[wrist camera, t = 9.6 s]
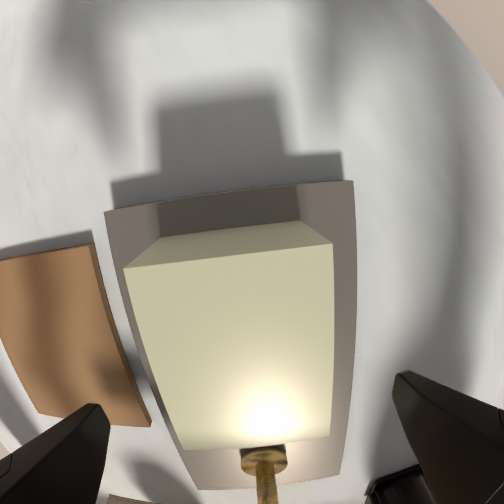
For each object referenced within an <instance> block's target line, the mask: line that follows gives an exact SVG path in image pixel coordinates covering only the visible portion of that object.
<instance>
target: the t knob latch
mask: <svg viewBox="0 0 504 504" xmlns="http://www.w3.org/2000/svg"><path fill="white" fill-rule="evenodd" d="M287 465H288V461H287V456H286V453H285V452H284V451H283V450H281V449H279V448H276V447H268V446H266V447H257V448H253V449H251V450H248V451H247V452H245V453H244V454H243V455H242V457H241V469H242V470H243V471H244V472H245V473H246V474H249V475H252V476H256V487H257V501H258V504H279V501H278V494H277V486H276V478H275V475H276V474H278V473H280V472H282V471H283V470H284V469H285V468H286V467H287ZM107 504H159V503H152V502H146V501H140V500H134V499H129V498H124V497H120V496H115V495H111V494H109V497H108V500H107Z"/></svg>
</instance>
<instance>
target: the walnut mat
mask: <svg viewBox="0 0 504 504" xmlns="http://www.w3.org/2000/svg"><path fill="white" fill-rule="evenodd" d="M0 338H1V341H2V343H3V345H4V348H5V350H6V352H7V354H8V357H9V359H10V361H11V363H12V365H13V367H14V369H15V371H16V373H17V375H18V377H19V379H20V381H21V383H22V385H23V387H24V389H25V391H26V392H27V394H28V396H29V398H30V400H31V401H32V403H33V405H34V406H35V408H36V410H37V411H38V413H40V414H44V415H49V416H54V417H60V418H66V417H68V416H69V415H70V414H72V413H73V412H75V411H76V410H78V409H79V408H81V407H82V406H84V405H85V404H87V403H97V404H100V405H101V406H102V408H103V410H104V412H105V414H106V416H107V418H108V420H109V422H110V425H121V426H134V427H150V426H151V422H152V420H151V418H150V416H149V414H148V412H147V409H146V407H145V405H144V402H143V400H142V398H141V395H140V393H139V390H138V388H137V385H136V383H135V380H134V378H133V375H132V373H131V370H130V367H129V365H128V362H127V359H126V356H125V354H124V351H123V348H122V345H121V342H120V339H119V336H118V333H117V330H116V326H115V323H114V320H113V317H112V313H111V310H110V306H109V303H108V299H107V296H106V292H105V288H104V284H103V280H102V276H101V272H100V268H99V264H98V259H97V255H96V250H95V246H94V243H93V244H87V245H81V246H75V247H69V248H63V249H58V250H52V251H46V252H40V253H35V254H29V255H24V256H19V257H13V258H8V259H3V260H0Z"/></svg>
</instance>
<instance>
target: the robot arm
mask: <svg viewBox="0 0 504 504" xmlns="http://www.w3.org/2000/svg"><path fill="white" fill-rule="evenodd" d="M392 398H393V402H394V404H395V407H396V410H397V412H398V415H399V418H400V421H401V423H402V426H403V429H404V432H405V434H406V437H407V439H408V441H409V444H410V446H411V448H412V450H413V452H414V454H415V456H416V458H417V460H418V462H419V464H420V465H417V466H415V467H413V468H410V469H407V470H405V471H402V472H399V473H397V474H394V475H391V476H388V477H385V478H382V479H379V480H377V481H376V482H374V484H373V487H372V489H371V492H370V494H369V496H368V498H367V500H366V503H365V504H504V410H502V409H500V408H499V409H498V408H497V407H494V406H492V405H489V404H487V403H485V402H482V401H480V400H477V399H475V398H472V397H470V396H468V395H465V394H463V393H460V392H458V391H456V390H453V389H451V388H449V387H446V386H444V385H442V384H440V383H437V382H435V381H433V380H430V379H428V378H426V377H424V376H421V375H419V374H417V373H415V372H412V371H410V370H406V371H403V372H400V373H398V374H397V375H396V377H395V381H394V386H393V391H392ZM109 434H110V422H109V420H108V418H107V416H106V414H105V412H104V410H103V408H102V406H101V405H100V404H97V403H87V404H85V405H84V406H82V407H81V408H79V409H78V410H76V411H75V412H73V413H72V414H70V415H69V416H68V417H66V418H65V419H63V420H62V421H60V422H59V423H57V424H56V425H54V426H52V427H51V428H49V429H48V430H46V431H45V432H43V433H42V434H40V435H39V436H37V437H36V438H34V439H33V440H31V441H30V442H28V443H26V444H25V445H23V446H22V447H20V448H19V449H17V450H16V451H14V452H13V453H11V454H9V455H8V456H6V457H5V458H3V459H1V460H0V504H96V500H97V496H98V492H99V487H100V483H101V479H102V475H103V471H104V467H105V461H106V454H107V447H108V441H109Z"/></svg>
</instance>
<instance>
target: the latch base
mask: <svg viewBox="0 0 504 504" xmlns="http://www.w3.org/2000/svg"><path fill="white" fill-rule="evenodd" d="M104 216H105V222H106V227H107V233H108V238H109V243H110V248H111V253H112V258H113V262H114V267H115V271H116V275H117V280H118V284H119V288H120V292H121V296H122V299H123V303H124V307H125V310H126V314H127V317H128V321H129V324H130V328H131V331H132V334H133V337H134V341H135V344H136V347H137V350H138V353H139V356H140V359H141V362H142V365H143V368H144V370H145V373H146V376H147V379H148V381H149V384H150V387H151V389H152V392H153V395H154V397H155V400H156V402H157V405H158V407H159V410H160V412H161V414H162V417H163V419H164V421H165V424H166V426H167V428H168V431H169V433H170V435H171V437H172V439H173V442H174V444H175V446H176V448H177V450H178V452H179V454H180V456H181V458H182V460H183V462H184V464H185V466H186V468H187V470H188V472H189V474H190V476H191V478H192V480H193V482H194V484H195V485H196V487H197V489H198V490H229V489H247V488H257V487H256V476H252V475H249V474H246V473H245V472H244V471H243V470H242V469H241V457H242V455H243V454H244V453H245V452H247V451H248V450H251V449H253V448H257V447H253V448H241V449H226V450H183V448H182V445H181V443H180V441H179V439H178V436H177V434H176V432H175V429H174V427H173V425H172V422H171V420H170V417H169V415H168V412H167V410H166V407H165V405H164V402H163V400H162V397H161V394H160V392H159V389H158V386H157V384H156V381H155V378H154V375H153V372H152V369H151V366H150V363H149V360H148V357H147V354H146V351H145V348H144V345H143V342H142V338H141V335H140V332H139V328H138V325H137V321H136V318H135V314H134V311H133V307H132V303H131V299H130V295H129V291H128V287H127V283H126V279H125V275H124V270H123V268H125V267H126V266H127V265H128V264H129V263H130V262H132V261H133V260H134V259H135V258H136V257H138V256H139V255H140V254H141V253H142V252H144V251H145V250H146V249H147V248H148V247H150V246H151V245H152V244H153V243H154V242H156V241H157V240H158V239H159V238H161V237H168V236H175V235H183V234H190V233H198V232H206V231H213V230H221V229H229V228H237V227H246V226H254V225H263V224H271V223H280V222H289V221H298V220H301V221H302V222H304V223H305V224H307V225H308V226H309V227H311V228H312V229H314V230H315V231H316V232H318V233H319V234H320V235H322V236H323V237H324V238H326V239H327V240H329V241H330V242H331V243H333V266H334V369H333V392H332V409H331V423H330V435H329V436H326V437H321V438H316V439H311V440H305V441H299V442H293V443H286V444H279V445H271V446H268V447H276V448H279V449H281V450H283V451H284V452H285V453H286V456H287V461H288V465H287V467H286V468H285V469H284V470H283V471H282V472H280V473H278V474H276V475H275V478H276V486H278V485H285V484H292V483H299V482H305V481H310V480H316V479H321V478H325V477H330V476H335V475H339V474H340V468H341V463H342V457H343V451H344V445H345V438H346V431H347V424H348V417H349V408H350V400H351V390H352V380H353V368H354V354H355V337H356V313H357V242H356V217H355V200H354V186H353V181H351V180H337V181H323V182H311V183H299V184H288V185H278V186H268V187H259V188H250V189H242V190H233V191H225V192H218V193H210V194H203V195H196V196H189V197H182V198H176V199H169V200H163V201H157V202H151V203H145V204H139V205H134V206H128V207H123V208H117V209H113V210H110V211H106V212H104ZM263 447H266V446H263Z"/></svg>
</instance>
